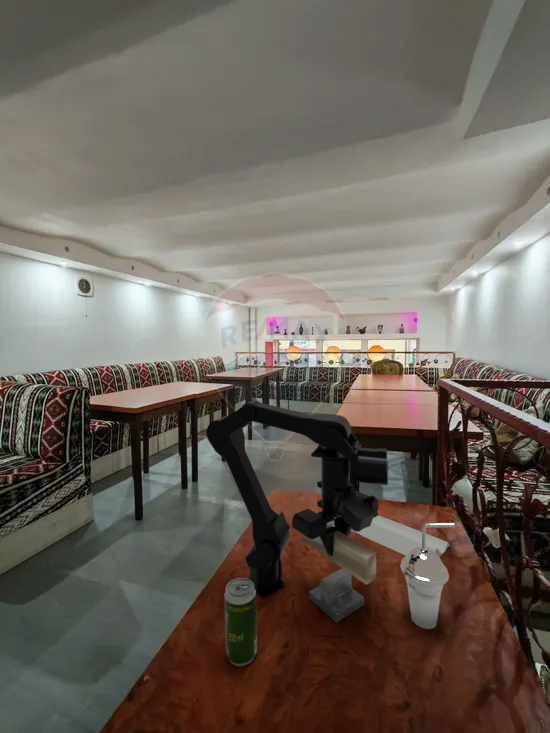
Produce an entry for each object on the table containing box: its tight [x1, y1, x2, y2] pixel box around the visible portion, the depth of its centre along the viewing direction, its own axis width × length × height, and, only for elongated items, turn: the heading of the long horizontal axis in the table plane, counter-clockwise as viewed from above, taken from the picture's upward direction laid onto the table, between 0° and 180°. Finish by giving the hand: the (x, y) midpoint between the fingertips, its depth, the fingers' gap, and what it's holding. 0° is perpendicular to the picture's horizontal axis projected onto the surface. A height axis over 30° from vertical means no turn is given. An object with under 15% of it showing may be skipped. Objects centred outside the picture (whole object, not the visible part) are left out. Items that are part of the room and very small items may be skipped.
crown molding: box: [350, 514, 450, 558], centre depth 98 cm, size 31×12×4 cm, turn 43°
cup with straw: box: [400, 522, 456, 630], centre depth 66 cm, size 8×9×20 cm
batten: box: [301, 531, 377, 586], centre depth 71 cm, size 3×18×5 cm, turn 36°
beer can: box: [223, 577, 258, 667], centre depth 60 cm, size 5×5×12 cm
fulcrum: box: [308, 568, 365, 624], centre depth 72 cm, size 8×8×6 cm
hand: (335, 552), depth 71 cm, fingers closed on batten, 3 cm apart
